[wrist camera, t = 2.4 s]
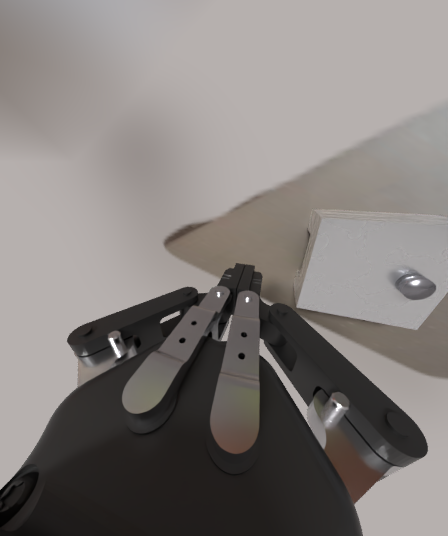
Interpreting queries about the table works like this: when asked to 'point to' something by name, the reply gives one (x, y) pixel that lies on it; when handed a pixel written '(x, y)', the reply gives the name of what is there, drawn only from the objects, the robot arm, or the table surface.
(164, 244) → the table surface
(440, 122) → the table surface
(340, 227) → the metal block with knob
